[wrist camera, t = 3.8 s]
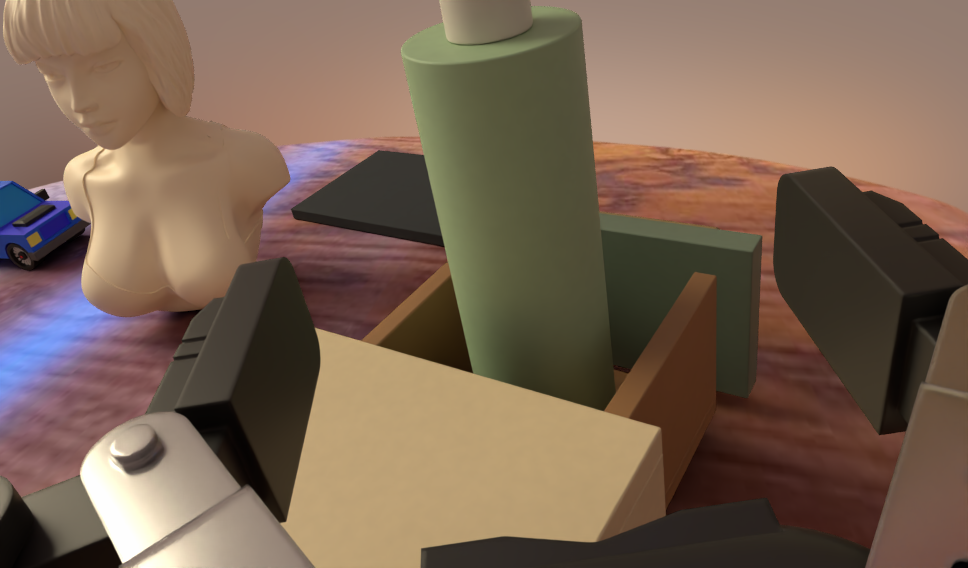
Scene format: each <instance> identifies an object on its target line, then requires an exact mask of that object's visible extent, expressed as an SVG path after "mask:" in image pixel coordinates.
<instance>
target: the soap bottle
mask: <svg viewBox="0 0 968 568" xmlns="http://www.w3.org/2000/svg"><path fill="white" fill-rule="evenodd" d="M439 2H440V7H441V13H442V18H443V23H440V24H437V25H435V26H432V27H430V28H427V29H425V30H423V31H421V32H419V33H418V34H416V35H414V36H412V37H411V38H410V39H408V40H407V41H406V42H405V43H404V45H403V46H402V49H401V55H402V59H403V64H404V68H405V72H406V77H407V81H408V86H409V90H410V95H411V99H412V104H413V108H414V113H415V117H416V122H417V126H418V130H419V135H420V139H421V144H422V148H423V153H424V157H425V162H426V166H427V170H428V175H429V179H430V184H431V188H432V193H433V197H434V201H435V206H436V210H437V215H438V219H439V224H440V228H441V233H442V237H443V241H444V246H445V250H446V255H447V259H448V264H449V268H450V272H451V277H452V281H453V286H454V290H455V295H456V299H457V304H458V308H459V312H460V317H461V321H462V326H463V330H464V335H465V339H466V344H467V348H468V352H469V357H470V361H471V366H472V370H473V374H476V375H480V376H483V377H487V378H490V379H494V380H497V381H501V382H504V383H508V384H511V385H514V386H518V387H521V388H525V389H528V390H532V391H535V392H539V393H542V394H546V395H549V396H552V397H556V398H559V399H563V400H566V401H570V402H573V403H577V404H580V405H584V406H587V407H590V408H594V409H597V410H601V411H604V410H605V409H606V407H607V406H608V404H609V403H610V401H611V400H612V398H613V397H614V395H615V394H616V390H615V379H614V369H613V358H612V347H611V336H610V325H609V314H608V303H607V292H606V281H605V271H604V260H603V249H602V238H601V227H600V216H599V205H598V194H597V183H596V172H595V162H594V151H593V140H592V129H591V119H590V107H589V96H588V85H587V74H586V63H585V54H584V42H583V31H582V20H581V18H580V17H579V15H578V14H577V13H575V12H573V11H570V10H567V9H563V8H557V7H545V6H544V7H543V6H531V2H530V0H439Z"/></svg>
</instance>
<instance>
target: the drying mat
mask: <svg viewBox="0 0 968 568" xmlns="http://www.w3.org/2000/svg"><path fill="white" fill-rule="evenodd" d="M291 210H292V213H293V216H294V218H295V219H300V220H305V221H311V222H316V223H322V224H327V225H332V226H338V227H343V228H349V229H354V230H359V231H365V232H370V233H376V234H381V235H386V236H392V237H397V238H403V239H408V240H413V241H419V242H424V243H429V244H435V245H440V246H444V241H443V237H442V233H441V228H440V224H439V219H438V215H437V210H436V206H435V201H434V197H433V193H432V188H431V184H430V179H429V175H428V170H427V166H426V162H425V157H424V155H417V154H408V153H399V152H389V151H380V150H379V151H377V152H376V153H374V154H373V155H371V156H370V157H368V158H367V159H365V160H364V161H362V162H361V163H359V164H358V165H356V166H355V167H353V168H352V169H350V170H349V171H347V172H346V173H344V174H343V175H341V176H340V177H338V178H337V179H335V180H334V181H332V182H331V183H329V184H328V185H326V186H325V187H323V188H322V189H320V190H319V191H317V192H316V193H314V194H313V195H311V196H310V197H308V198H307V199H305V200H304V201H302V202H301V203H299V204H298V205H296V206H295V207H293V208H292V209H291Z"/></svg>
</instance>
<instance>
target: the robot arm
mask: <svg viewBox="0 0 968 568" xmlns="http://www.w3.org/2000/svg"><path fill="white" fill-rule="evenodd" d="M773 265H774V273H775V278H776V282H777V285H778V288H779V291H780V293H781V295H782V297H783V298H784V300H785V301H786V302H787V304H788V305H789V307H790V308H791V310H792V311H793V313H794V314H795V315H796V317H797V318H798V320H799V321H800V323H801V324H802V325H803V327H804V328H805V330H806V331H807V333H808V334H809V335H810V337H811V338H812V340H813V341H814V343H815V344H816V345H817V347H818V348H819V350H820V351H821V353H822V354H823V356H824V357H825V358H826V360H827V361H828V363H829V364H830V366H831V367H832V368H833V370H834V371H835V373H836V374H837V376H838V377H839V378H840V380H841V381H842V383H843V384H844V386H845V387H846V388H847V390H848V391H849V393H850V394H851V396H852V397H853V399H854V400H855V401H856V403H857V404H858V406H859V407H860V409H861V410H862V411H863V413H864V414H865V416H866V417H867V419H868V420H869V421H870V423H871V424H872V426H873V427H874V429H875V430H876V432H877V433H878V434H879V435H885V434H891V433H898V432H905V431H906V433H905V437H904V440H903V443H902V447H901V450H900V453H899V457H898V460H897V463H896V467H895V470H894V473H893V477H892V480H891V483H890V487H889V490H888V493H887V497H886V500H885V503H884V507H883V510H882V513H881V517H880V520H879V523H878V527H877V530H876V533H875V537H874V540H873V543H872V547H871V549H869V548H867V547H865V546H863V545H860V544H858V543H855V542H852V541H850V540H847V539H844V538H842V537H839V536H836V535H832V534H828V533H825V532H821V531H817V530H813V529H808V528H802V527H796V526H789V525H780V524H779V522H778V520H777V518H776V516H775V514H774V512H773V509H772V507H771V505H770V503H769V501H768V499H767V498H760V499H753V500H747V501H740V502H733V503H726V504H719V505H713V506H706V507H699V508H692V509H685V510H680V511H677V512H675V513H672V514H669V515H667V516H664V517H662V518H659V519H657V520H654V521H651V522H649V523H646V524H644V525H641V526H638V527H636V528H633V529H631V530H628V531H626V532H623V533H620V534H618V535H615V536H613V537H610V538H608V539H605V540H602V541H597V542H577V541H564V540H551V539H537V538H524V537H511V536H501V537H495V538H488V539H481V540H474V541H467V542H461V543H454V544H447V545H440V546H433V547H427V548H421V568H968V259H967V258H965V257H964V256H963V255H962V254H961V253H960V252H958V251H957V250H956V249H955V248H954V247H953V246H951V245H950V244H949V243H948V242H947V241H946V240H944V239H943V238H942V239H939V234H937V233H936V232H935V231H934V230H933V229H932V228H930V227H929V226H928V225H927V224H923V223H922V220H921V219H920V218H919V217H918V216H916V215H915V214H914V213H913V212H912V211H911V210H909V209H908V208H907V207H906V206H905V205H904V204H902V203H900V202H898V201H895V200H893V199H890V198H888V197H885V196H883V195H880V194H878V193H876V192H873V191H867V192H861V191H860V190H859V189H858V188H857V187H856V186H855V185H854V184H853V183H852V182H851V181H849V180H848V179H847V178H846V177H845V176H844V175H843V174H842V173H841V172H840V171H838V170H837V169H836V168H834V167H826V168H819V169H813V170H807V171H801V172H795V173H789V174H784V175H782V176H781V178H780V180H779V183H778V187H777V200H776V218H775V236H774V255H773ZM173 359H174V361H173V362H171V363H170V365H169V367H168V369H167V371H166V373H165V375H164V377H163V379H162V381H161V383H160V385H159V387H158V389H157V391H156V393H155V395H154V397H153V399H152V401H151V403H150V405H149V407H148V409H147V411H146V413H145V415H142V416H139V417H136V418H134V419H131V420H129V421H127V422H125V423H123V424H121V425H119V426H118V427H116V428H114V429H113V430H111V431H110V432H109V433H107V434H106V435H105V436H103V437H102V438H101V439H100V440H99V441H98V442H97V443H96V444H95V445H94V446H93V447H92V448H91V449H90V451H89V452H88V454H87V455H86V457H85V459H84V461H83V463H82V466H81V469H80V475H78V476H76V477H74V478H71V479H68V480H66V481H63V482H60V483H58V484H55V485H53V486H50V487H47V488H45V489H42V490H40V491H37V492H34V493H32V494H29V495H26V496H24V497H21V496H20V495H19V494H18V492H17V491H16V490H15V488H14V487H13V485H12V484H11V483H10V482H9V481H8V480H7V479H6V478H4V477H2V476H0V568H315V567H314V565H313V564H312V563H311V562H310V560H309V559H308V558H307V557H306V555H305V554H304V553H303V552H302V550H301V549H300V548H299V547H298V545H297V544H296V543H295V542H294V540H293V539H292V538H291V536H290V535H289V534H288V533H287V531H286V530H285V529H284V528H283V526H282V525H281V524H280V523H283V522H286V521H287V516H288V512H289V507H290V503H291V498H292V494H293V489H294V485H295V480H296V476H297V471H298V467H299V462H300V457H301V453H302V448H303V444H304V439H305V435H306V430H307V426H308V421H309V417H310V412H311V408H312V403H313V399H314V394H315V389H316V385H317V380H318V376H319V371H320V364H321V357H320V346H319V341H318V337H317V333H316V330H315V327H314V324H313V321H312V319H311V316H310V313H309V310H308V307H307V305H306V302H305V299H304V296H303V293H302V291H301V288H300V285H299V282H298V279H297V277H296V274H295V271H294V269H293V266H292V264H291V263H290V261H289V260H288V259H287V258H285V257H282V258H276V259H270V260H264V261H258V262H252V263H246V264H241V265H239V266H238V268H237V270H236V272H235V275H234V277H233V279H232V281H231V283H230V286H229V288H228V290H227V292H226V295H225V297H221V298H215V299H213V300H212V301H210V302H209V303H208V304H207V305H206V306H205V307H204V308H203V309H202V310H201V311H200V312H199V313H198V314H197V315H196V316H195V317H194V318H193V319H192V320H191V322H190V324H189V326H188V328H187V330H186V332H185V334H184V336H183V338H182V344H179V346H178V348H177V351H176V353H175V355H174V357H173Z"/></svg>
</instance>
